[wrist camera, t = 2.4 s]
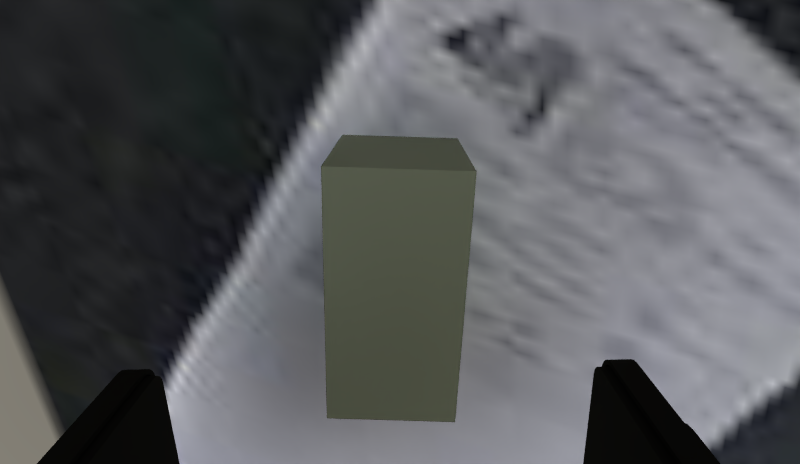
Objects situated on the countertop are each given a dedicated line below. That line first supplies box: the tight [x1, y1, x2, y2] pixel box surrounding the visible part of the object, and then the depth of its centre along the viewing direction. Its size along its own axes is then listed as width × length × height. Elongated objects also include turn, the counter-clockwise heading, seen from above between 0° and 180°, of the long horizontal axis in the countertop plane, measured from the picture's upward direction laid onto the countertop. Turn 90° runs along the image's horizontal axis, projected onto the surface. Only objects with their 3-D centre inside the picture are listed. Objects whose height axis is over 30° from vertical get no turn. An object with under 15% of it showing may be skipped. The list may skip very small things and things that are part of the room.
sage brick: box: [321, 135, 477, 422], centre depth 17 cm, size 8×4×5 cm, turn 178°
